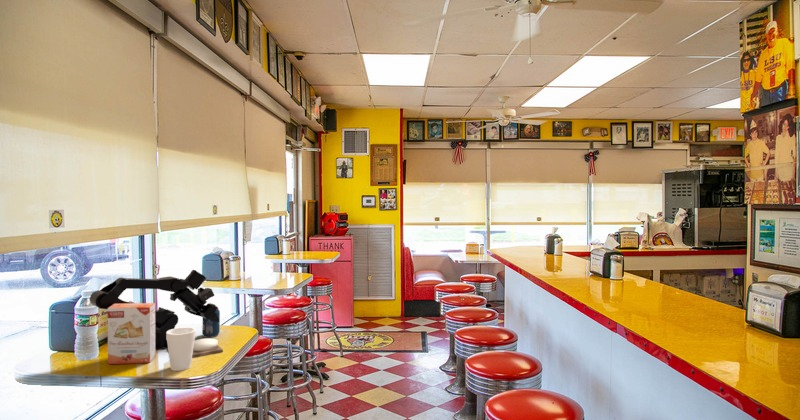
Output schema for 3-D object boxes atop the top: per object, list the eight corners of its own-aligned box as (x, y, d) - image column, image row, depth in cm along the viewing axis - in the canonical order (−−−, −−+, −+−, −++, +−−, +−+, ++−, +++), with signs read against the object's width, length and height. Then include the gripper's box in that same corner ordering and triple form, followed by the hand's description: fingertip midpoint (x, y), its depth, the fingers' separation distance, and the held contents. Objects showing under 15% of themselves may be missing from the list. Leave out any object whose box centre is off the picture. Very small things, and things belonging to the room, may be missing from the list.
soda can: (216, 332, 200) (216, 305, 199) (221, 335, 194) (222, 308, 194) (200, 335, 195) (200, 307, 195) (205, 338, 190) (205, 310, 190)
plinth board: (178, 360, 163) (178, 352, 163) (168, 349, 176) (168, 341, 176) (222, 351, 174) (222, 344, 174) (210, 341, 186) (210, 334, 186)
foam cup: (167, 364, 159) (167, 328, 159) (195, 361, 163) (196, 326, 163) (164, 374, 150) (165, 335, 150) (194, 370, 154) (195, 333, 154)
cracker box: (107, 365, 157) (106, 307, 156) (114, 358, 163) (114, 302, 162) (150, 363, 160) (149, 306, 158) (156, 356, 166) (155, 302, 164)
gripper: (212, 285, 185) (236, 307, 194) (191, 280, 197) (215, 301, 206) (194, 307, 179) (219, 329, 188) (173, 300, 191) (198, 321, 200)
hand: (213, 319), depth 195 cm, fingers open, 9 cm apart
